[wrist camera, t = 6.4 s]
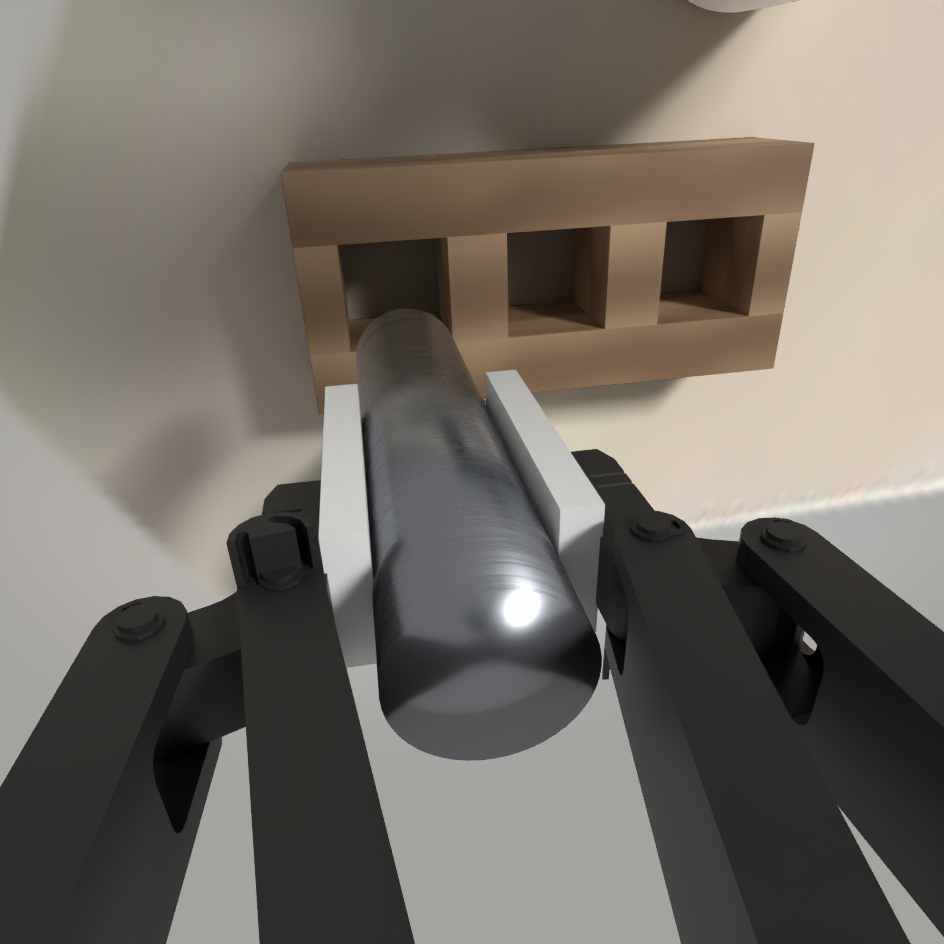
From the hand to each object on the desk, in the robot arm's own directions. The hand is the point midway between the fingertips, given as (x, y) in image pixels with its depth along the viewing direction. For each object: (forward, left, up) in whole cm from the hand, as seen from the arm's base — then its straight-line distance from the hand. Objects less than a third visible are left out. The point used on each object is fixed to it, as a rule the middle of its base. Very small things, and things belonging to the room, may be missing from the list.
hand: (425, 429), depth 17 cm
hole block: (0, +7, -19) cm, 20 cm away
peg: (0, 0, -5) cm, 5 cm away
